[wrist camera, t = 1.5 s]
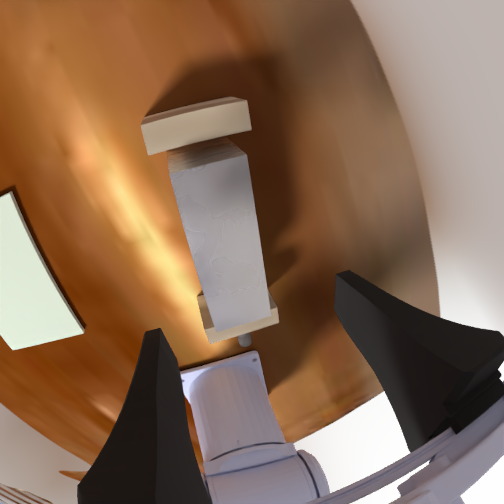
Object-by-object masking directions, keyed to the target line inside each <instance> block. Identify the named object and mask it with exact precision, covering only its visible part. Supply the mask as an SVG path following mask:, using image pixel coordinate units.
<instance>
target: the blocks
mask: <svg viewBox="0 0 504 504" xmlns="http://www.w3.org/2000/svg"><path fill="white" fill-rule="evenodd" d="M141 129H142V133H143V137H144V141H145V145H146V148H147V152H148V156H149V155H152V154H155V153H159V152H162V151H166V150H170V149H173V148H177V147H181V146H184V145H188V144H192V143H196V142H200V141H204V140H208V139H213V138H217V137H221V136H226V135H230V134H235V133H240V132H244V131H249V130H252V129H251V122H250V116H249V110H248V103H247V100H244V99H240V98H235V97H231V96H230V97H225V98H220V99H215V100H210V101H205V102H201V103H197V104H192V105H188V106H184V107H180V108H176V109H172V110H168V111H164V112H161V113H157V114H153V115H150V116H146V117H144V118H143V121H142V123H141ZM267 290H268V289H267ZM268 297H269V304H270V310H271V316H269V317H266V318H263V319H259V320H256V321H253V322H250V323H246V324H243V325H240V326H236V327H233V328H230V329H226V330H223V331H220V332H216V330H215V327H214V324H213V321H212V318H211V315H210V312H209V309H208V306H207V303H206V299H205V296H204V295H201V296H197V300H198V304H199V309H200V313H201V317H202V321H203V325H204V329H205V332H206V335H207V337H208V340H209V343H210V344H212V343H215V342H219V341H222V340H226V339H229V338H232V337H236V336H237V337H238V341H239V344H240V345H241V346H242V347H247V346H249V345H251V343H252V339H251V335H250V332H252V331H255V330H258V329H261V328H264V327H267V326H270V325H273V324H276V323H279V317H278V309H277V306H276V304H275V302H274V300H273V299H272V297H271V295H270V293H269V291H268Z"/></svg>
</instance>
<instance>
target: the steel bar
mask: <svg viewBox="0 0 504 504" xmlns="http://www.w3.org/2000/svg"><path fill="white" fill-rule="evenodd" d="M166 152H167V160H168V168H169V175H170V179H171V183H172V186H173V190H174V194H175V198H176V201H177V205H178V209H179V212H180V216H181V219H182V223H183V227H184V230H185V234H186V237H187V240H188V244H189V247H190V251H191V254H192V257H193V261H194V264H195V267H196V271H197V274H198V277H199V280H200V284H201V287H202V290H203V293H204V296H205V299H206V303H207V306H208V309H209V312H210V315H211V318H212V321H213V324H214V327H215V330H216V332H220V331H223V330H226V329H230V328H233V327H236V326H240V325H243V324H246V323H250V322H253V321H256V320H259V319H263V318H266V317H269V316H271V310H270V304H269V297H268V290H267V283H266V276H265V270H264V263H263V256H262V250H261V243H260V236H259V230H258V223H257V217H256V210H255V204H254V197H253V191H252V184H251V178H250V171H249V165H248V159H247V155H246V154H245V153H244V152H243V151H242V150H241V149H239V148H238V147H237V146H236V145H235V144H234V143H233V142H231V141H230V140H229V139H228V138H227V137H226V136H223V137H218V138H214V139H209V140H205V141H201V142H197V143H193V144H189V145H185V146H181V147H177V148H173V149H170V150H166Z"/></svg>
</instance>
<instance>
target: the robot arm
mask: <svg viewBox="0 0 504 504" xmlns="http://www.w3.org/2000/svg"><path fill="white" fill-rule="evenodd" d="M334 310H335V312H336V314H337V316H338V318H339V320H340V322H341V323H342V325H343V327H344V329H345V330H346V332H347V333H348V335H349V336H350V338H351V339H352V341H353V342H354V343H355V345H356V346H357V348H358V349H359V350H360V352H361V353H362V355H363V356H364V358H365V359H366V360H367V362H368V363H369V365H370V366H371V368H372V369H373V371H374V372H375V374H376V376H377V378H378V380H379V382H380V383H381V385H382V387H383V389H384V391H385V393H386V395H387V397H388V399H389V401H390V403H391V405H392V408H393V410H394V412H395V414H396V417H397V419H398V422H399V424H400V427H401V429H402V432H403V435H404V437H405V440H406V443H407V446H408V449H409V451H410V452H411V453H410V454H408V455H407V456H405V457H403V458H402V459H400V460H398V461H396V462H395V463H393V464H391V465H389V466H387V467H385V468H384V469H382V470H380V471H378V472H376V473H374V474H372V475H370V476H368V477H366V478H364V479H362V480H360V481H357V482H355V483H353V484H351V485H349V486H347V487H344V488H342V489H340V490H337V491H335V492H333V493H330V491H329V486H328V482H327V479H326V476H325V474H324V472H323V470H322V468H321V466H320V464H319V463H318V461H317V460H316V458H315V457H314V456H312V455H311V454H309V453H307V452H306V451H304V450H298V451H296V449H295V447H294V445H293V442H290V443H286V441H285V438H284V436H283V433H282V431H281V429H280V426H279V424H278V421H277V419H276V416H275V414H274V411H273V409H272V406H271V404H270V401H269V398H268V393H267V389H266V384H265V380H264V376H263V371H262V367H261V362H260V358H259V354H258V352H257V351H250V352H247V353H244V354H240V355H237V356H234V357H230V358H227V359H224V360H220V361H217V362H213V363H210V364H206V365H203V366H199V367H195V368H192V369H188V370H184V371H180V370H179V366H178V362H177V358H176V357H175V355H174V353H173V351H172V349H171V347H170V345H169V343H168V342H167V340H166V338H165V336H164V334H163V332H162V330H161V328H158V329H154V330H150V331H147V332H145V334H144V338H143V342H142V346H141V350H140V354H139V358H138V362H137V365H136V368H135V372H134V375H133V379H132V382H131V385H130V388H129V391H128V393H127V396H126V399H125V402H124V404H123V407H122V410H121V412H120V414H119V417H118V419H117V421H116V423H115V425H114V427H113V430H112V432H111V434H110V436H109V438H108V440H107V441H106V443H105V445H104V447H103V448H102V450H101V452H100V453H99V455H98V457H97V458H96V460H95V462H94V463H93V465H92V466H91V468H90V469H89V471H88V472H87V473H86V475H85V476H84V478H83V479H82V480H81V482H80V483H79V484H78V489H77V497H78V504H349V503H352V502H354V501H356V500H358V499H360V498H363V497H365V496H366V495H369V494H371V493H373V492H375V491H377V490H379V489H381V488H382V487H384V486H386V485H388V484H390V483H392V482H394V481H395V480H397V479H399V478H401V477H402V476H404V475H406V474H407V473H409V472H411V471H413V470H414V469H416V468H417V467H419V466H421V465H422V464H424V463H425V462H427V461H428V460H430V462H429V465H427V466H426V467H424V468H423V469H422V470H420V471H419V472H417V473H415V474H414V475H412V476H411V477H410V478H409V479H408V480H407V481H405V482H403V483H402V484H400V485H399V486H398V487H397V489H398V490H399V492H400V494H401V497H400V498H398V499H397V500H395V501H393V502H391V503H389V504H464V502H463V500H462V499H461V497H460V495H461V494H463V493H464V492H465V491H466V490H467V489H468V488H470V487H471V486H472V485H473V484H474V483H475V482H476V481H477V480H479V479H480V478H481V477H482V476H483V475H484V474H485V473H486V472H487V471H488V470H489V469H490V468H491V467H492V466H493V465H494V464H495V463H496V462H497V461H498V460H499V459H500V458H501V457H502V456H503V455H504V381H503V382H502V381H501V380H500V379H499V378H500V377H501V373H500V372H499V371H498V368H499V367H500V365H501V364H502V363H503V361H504V336H503V335H502V334H501V333H500V332H499V331H493V330H486V329H480V328H475V327H471V326H466V325H462V324H458V323H455V322H452V321H449V320H445V319H443V318H440V317H437V316H434V315H432V314H429V313H427V312H425V311H422V310H420V309H418V308H416V307H413V306H411V305H409V304H407V303H405V302H403V301H401V300H400V299H398V298H396V297H394V296H392V295H390V294H389V293H387V292H385V291H383V290H382V289H380V288H378V287H377V286H375V285H373V284H372V283H370V282H368V281H367V280H365V279H363V278H362V277H360V276H358V275H357V274H355V273H353V272H351V271H350V270H347V271H344V272H341V273H338V274H336V281H335V304H334ZM184 395H185V396H186V398H187V399H188V401H189V403H190V404H191V407H192V412H193V416H194V421H195V426H196V430H197V434H198V439H199V443H200V447H201V451H202V455H203V460H204V463H203V467H204V471H205V475H206V476H205V475H204V473H200V470H199V467H198V463H197V460H196V457H195V453H194V450H193V446H192V443H191V439H190V434H189V429H188V422H187V415H186V407H185V400H184ZM431 458H432V459H431Z"/></svg>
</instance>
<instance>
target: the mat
mask: <svg viewBox="0 0 504 504" xmlns="http://www.w3.org/2000/svg"><path fill="white" fill-rule="evenodd" d="M83 333H84V328H83V326H82V325H81V323H80V322H79V320H78V319H77V317H76V316H75V314H74V312H73V311H72V309H71V308H70V306H69V304H68V303H67V301H66V299H65V298H64V296H63V294H62V293H61V291H60V289H59V288H58V286H57V284H56V282H55V281H54V279H53V277H52V275H51V273H50V271H49V270H48V268H47V266H46V264H45V262H44V260H43V258H42V256H41V254H40V252H39V250H38V248H37V246H36V244H35V242H34V240H33V238H32V236H31V234H30V232H29V230H28V228H27V225H26V223H25V221H24V219H23V216H22V214H21V212H20V209H19V207H18V205H17V202H16V200H15V197H14V195H13V192H12V191H11V192H9V193H6V194H4V195H2V196H0V335H1V336H2V338H3V339H4V340H5V341H6V343H7V344H8V345H9V346H10V348H11V349H12V350H16V349H21V348H25V347H29V346H34V345H38V344H42V343H46V342H50V341H54V340H58V339H63V338H67V337H71V336H75V335H79V334H83Z"/></svg>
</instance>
